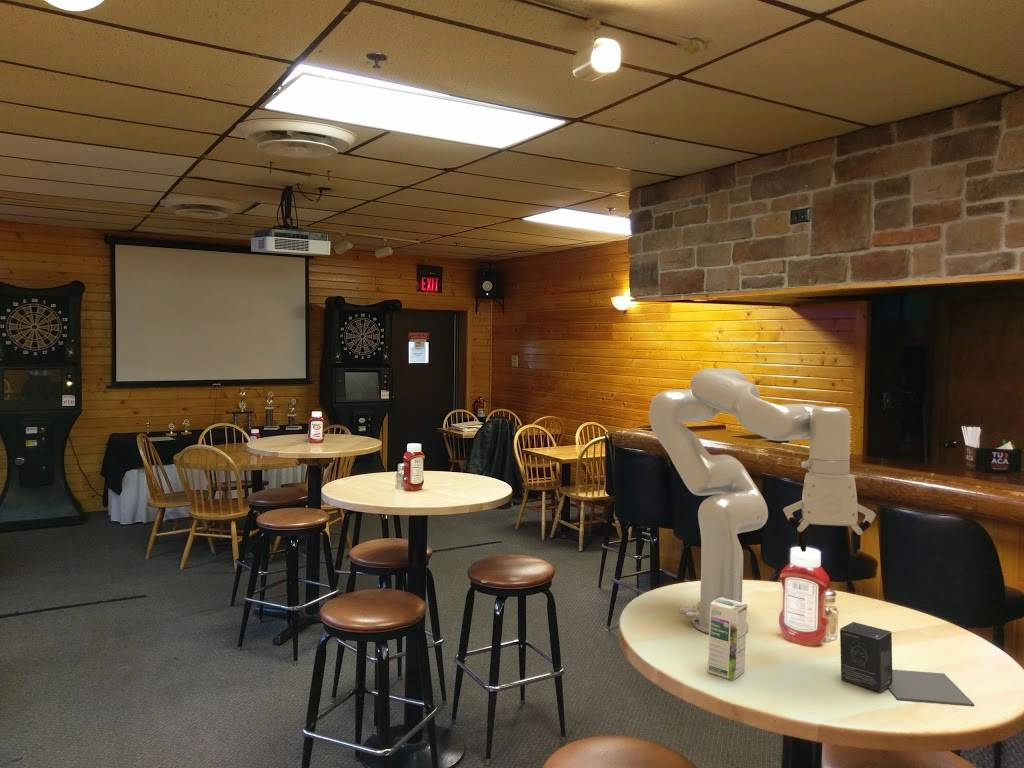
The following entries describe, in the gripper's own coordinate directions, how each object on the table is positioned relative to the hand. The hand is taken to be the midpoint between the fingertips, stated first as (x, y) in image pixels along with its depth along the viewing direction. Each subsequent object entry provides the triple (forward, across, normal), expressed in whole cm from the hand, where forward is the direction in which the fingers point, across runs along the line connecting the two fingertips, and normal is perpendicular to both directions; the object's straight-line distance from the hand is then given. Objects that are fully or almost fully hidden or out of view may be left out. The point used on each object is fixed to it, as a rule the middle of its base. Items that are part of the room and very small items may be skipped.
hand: (828, 551), depth 150 cm
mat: (+26, +17, -1) cm, 31 cm away
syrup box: (+25, -20, -5) cm, 32 cm away
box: (+25, +7, -2) cm, 26 cm away
